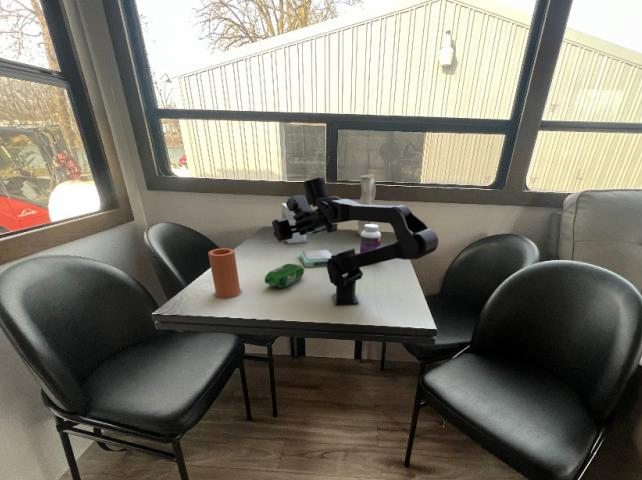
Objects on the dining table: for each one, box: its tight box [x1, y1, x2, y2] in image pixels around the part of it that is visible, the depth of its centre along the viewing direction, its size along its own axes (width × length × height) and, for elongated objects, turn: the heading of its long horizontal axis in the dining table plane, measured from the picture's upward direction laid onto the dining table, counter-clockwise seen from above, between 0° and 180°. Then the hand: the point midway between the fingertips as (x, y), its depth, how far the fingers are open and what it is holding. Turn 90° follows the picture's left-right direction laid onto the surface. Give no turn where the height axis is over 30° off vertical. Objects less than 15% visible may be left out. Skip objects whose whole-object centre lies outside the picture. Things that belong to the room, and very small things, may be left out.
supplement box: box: [281, 202, 308, 244], centre depth 139 cm, size 10×9×17 cm
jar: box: [207, 247, 241, 299], centre depth 87 cm, size 7×7×13 cm
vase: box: [357, 173, 377, 237], centre depth 151 cm, size 9×8×30 cm
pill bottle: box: [359, 224, 382, 253], centre depth 118 cm, size 8×8×14 cm
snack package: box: [264, 263, 305, 288], centre depth 97 cm, size 7×16×5 cm, turn 153°
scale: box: [299, 249, 333, 268], centre depth 118 cm, size 12×12×3 cm
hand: (285, 231), depth 97 cm, fingers open, 9 cm apart
